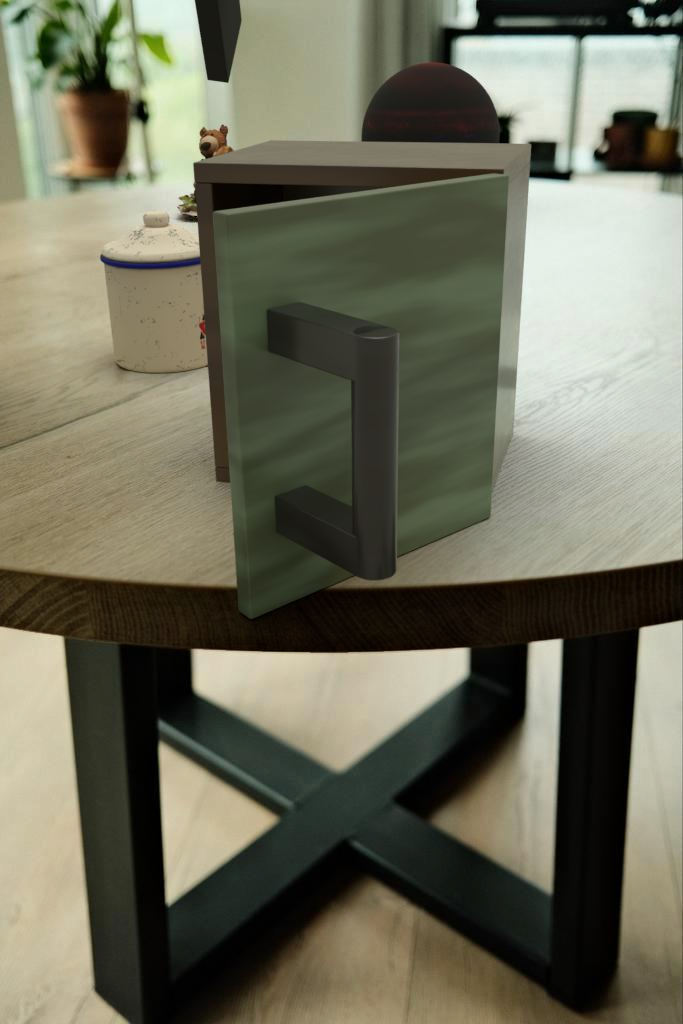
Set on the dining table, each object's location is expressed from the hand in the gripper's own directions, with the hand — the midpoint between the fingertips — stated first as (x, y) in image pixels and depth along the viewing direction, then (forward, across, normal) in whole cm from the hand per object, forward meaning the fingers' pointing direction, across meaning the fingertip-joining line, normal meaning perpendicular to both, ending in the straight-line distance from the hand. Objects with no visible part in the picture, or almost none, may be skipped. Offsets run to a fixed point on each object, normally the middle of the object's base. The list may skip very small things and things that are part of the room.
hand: (38, 25), depth 37 cm
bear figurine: (+101, -13, +54) cm, 116 cm away
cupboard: (+29, +14, -4) cm, 33 cm away
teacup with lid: (+47, -4, +8) cm, 48 cm away
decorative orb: (+103, +17, +62) cm, 122 cm away
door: (+17, +17, -15) cm, 28 cm away
